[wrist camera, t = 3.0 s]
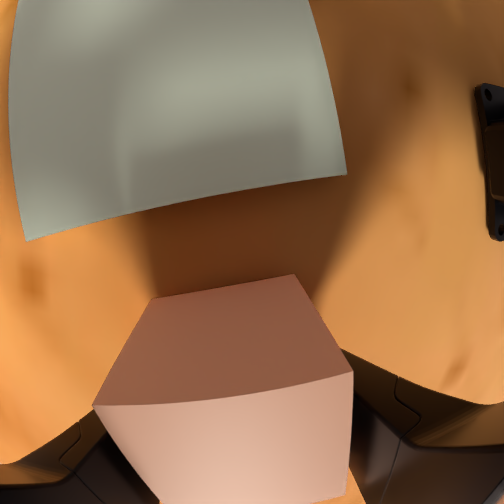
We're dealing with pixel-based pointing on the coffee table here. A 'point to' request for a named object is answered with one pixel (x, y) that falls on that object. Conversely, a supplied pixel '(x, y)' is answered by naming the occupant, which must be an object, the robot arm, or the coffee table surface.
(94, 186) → the plate
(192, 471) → the terracotta brick
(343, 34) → the coffee table surface
